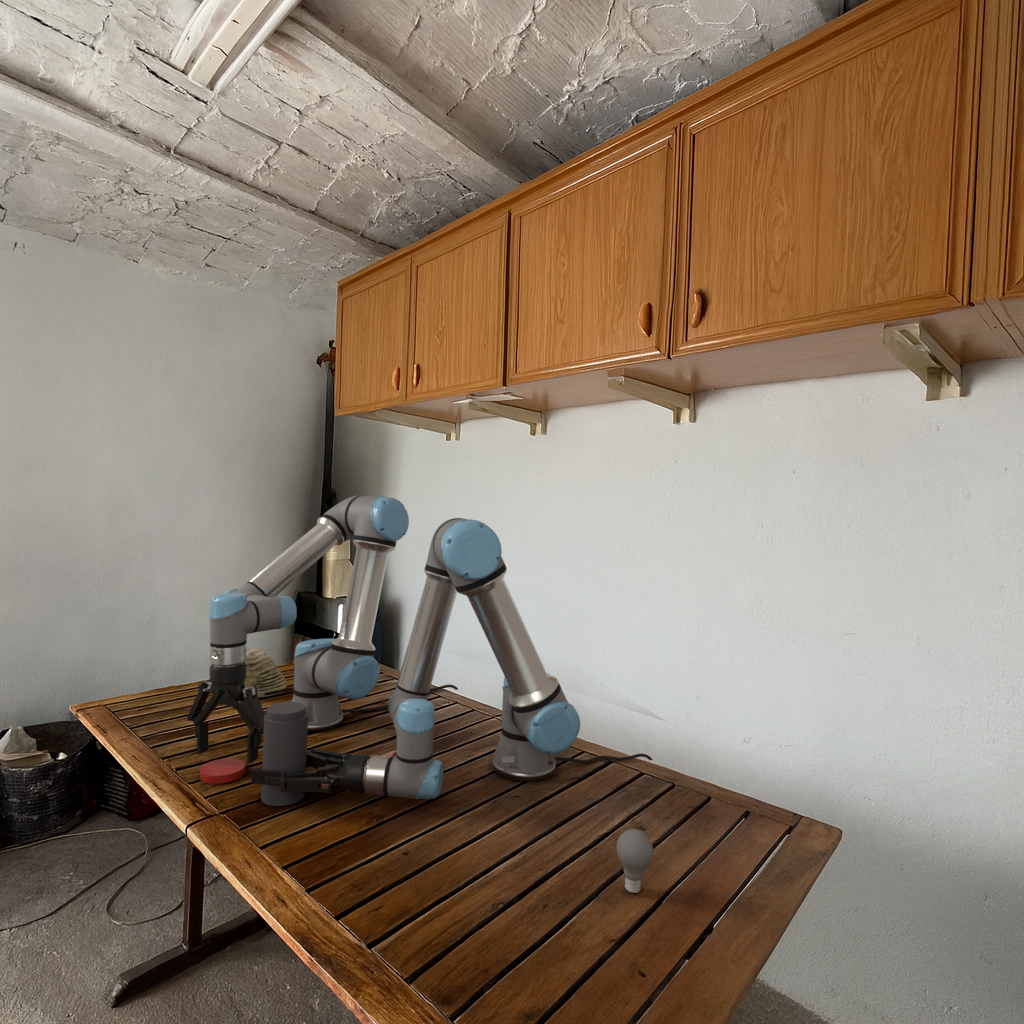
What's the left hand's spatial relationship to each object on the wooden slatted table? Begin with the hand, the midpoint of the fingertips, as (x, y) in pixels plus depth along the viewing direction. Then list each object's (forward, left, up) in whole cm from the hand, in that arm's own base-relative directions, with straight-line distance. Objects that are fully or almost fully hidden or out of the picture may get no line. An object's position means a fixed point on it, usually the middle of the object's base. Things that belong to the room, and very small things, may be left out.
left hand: (227, 756), depth 143 cm
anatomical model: (-26, +23, -4) cm, 35 cm away
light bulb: (-24, +89, -4) cm, 93 cm away
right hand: (0, +15, +2) cm, 15 cm away
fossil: (-33, -47, -4) cm, 58 cm away
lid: (+1, 0, -2) cm, 3 cm away
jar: (-3, +19, -4) cm, 19 cm away
